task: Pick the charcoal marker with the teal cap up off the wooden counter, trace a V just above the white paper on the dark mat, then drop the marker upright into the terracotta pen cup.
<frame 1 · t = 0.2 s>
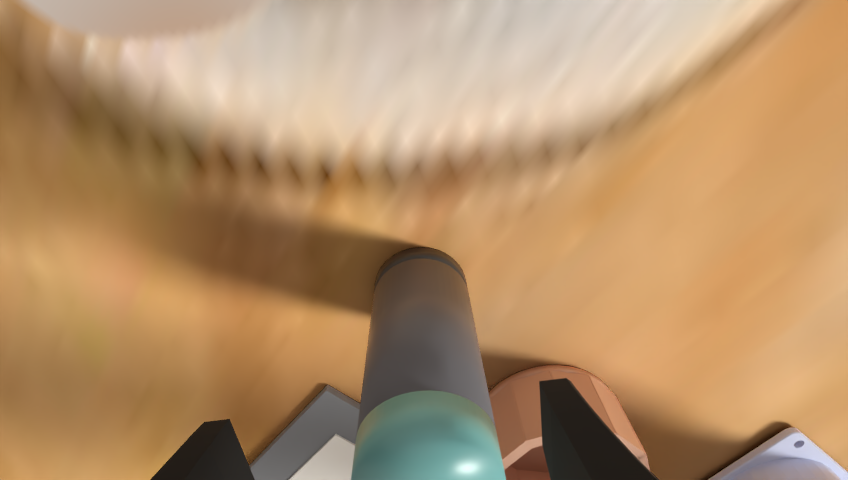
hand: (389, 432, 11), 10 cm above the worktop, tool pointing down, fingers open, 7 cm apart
pen cup: (545, 420, 25), on the worktop
marker: (420, 288, 22), on the worktop
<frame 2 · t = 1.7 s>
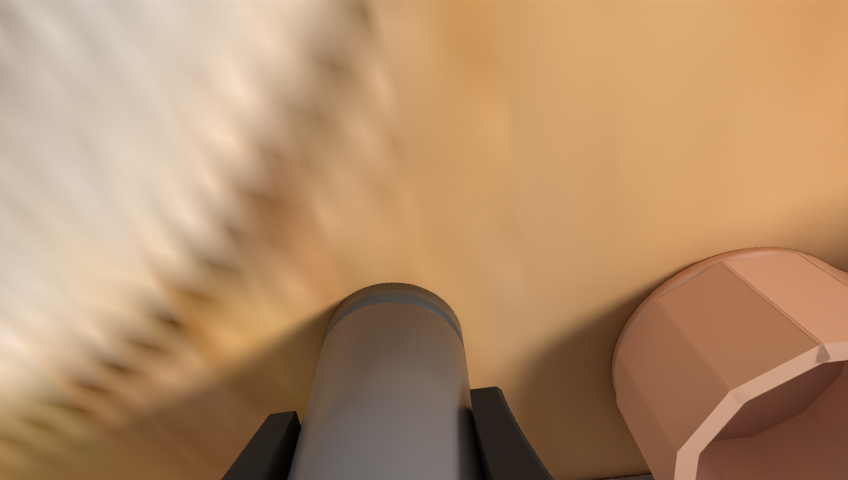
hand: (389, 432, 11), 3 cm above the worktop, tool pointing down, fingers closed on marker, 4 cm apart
pen cup: (730, 353, 15), on the worktop
marker: (394, 341, 15), on the worktop, touching gripper
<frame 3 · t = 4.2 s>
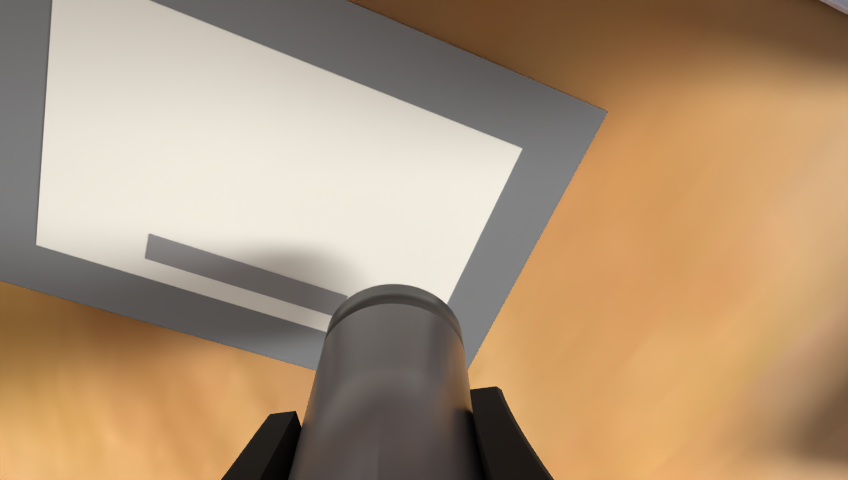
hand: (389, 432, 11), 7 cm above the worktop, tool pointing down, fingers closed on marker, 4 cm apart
writing mat: (274, 193, 17), on the worktop
marker: (394, 342, 15), point 4 cm above the worktop, touching gripper
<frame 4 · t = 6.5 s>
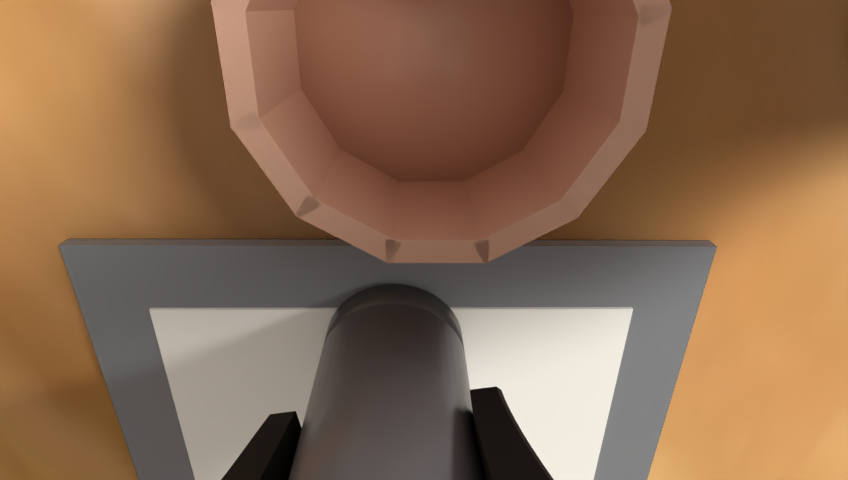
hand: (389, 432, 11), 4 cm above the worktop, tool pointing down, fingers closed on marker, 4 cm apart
writing mat: (396, 413, 17), on the worktop
pen cup: (433, 50, 12), on the worktop
marker: (394, 342, 15), point 1 cm above the worktop, touching gripper
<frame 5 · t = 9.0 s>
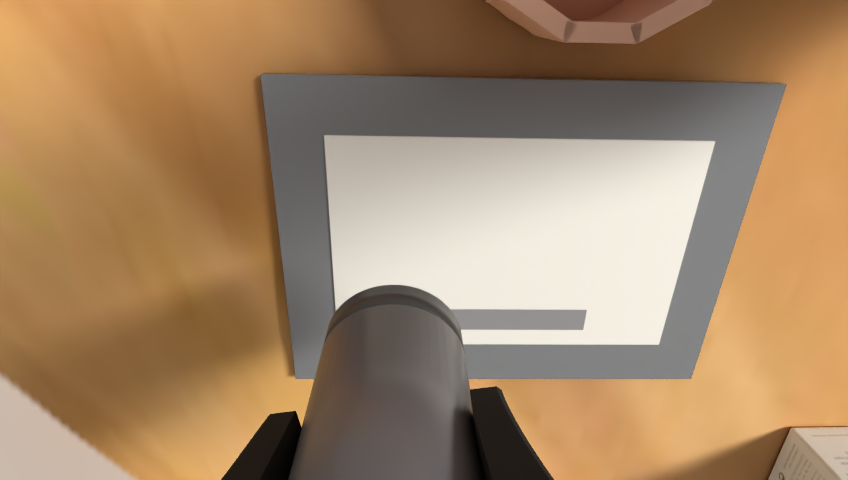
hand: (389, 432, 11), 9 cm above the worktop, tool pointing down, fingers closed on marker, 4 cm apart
small box: (841, 458, 26), on the worktop
writing mat: (507, 246, 20), on the worktop
marker: (394, 343, 15), point 6 cm above the worktop, touching gripper
when the fingers open (5 cm above the worktop, at t = 11.2 s): marker stays where it is, resting on pen cup.
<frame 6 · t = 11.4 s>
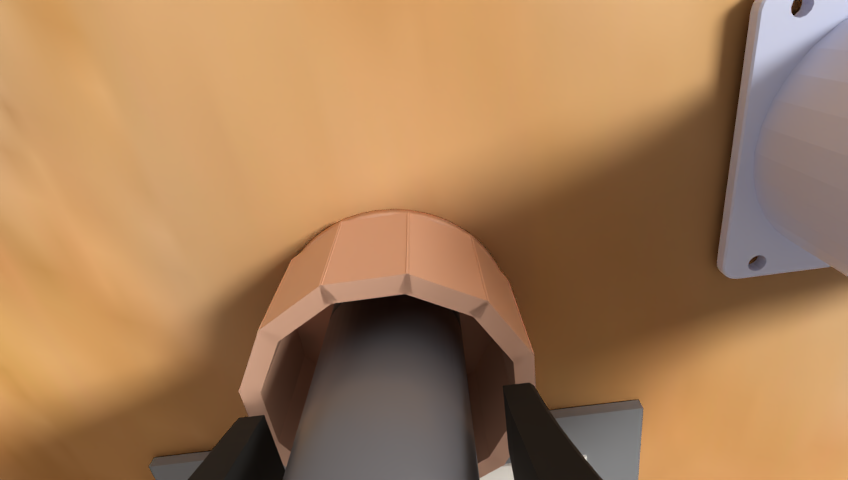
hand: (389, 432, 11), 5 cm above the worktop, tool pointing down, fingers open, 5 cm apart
pen cup: (396, 312, 16), on the worktop
marker: (395, 322, 15), point 1 cm above the worktop, touching pen cup
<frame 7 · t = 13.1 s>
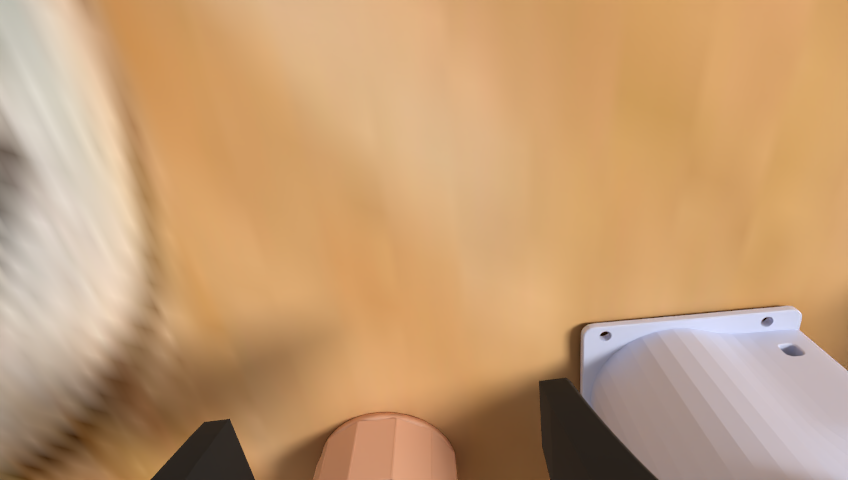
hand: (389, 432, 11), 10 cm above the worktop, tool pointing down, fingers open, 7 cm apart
pen cup: (388, 463, 26), on the worktop
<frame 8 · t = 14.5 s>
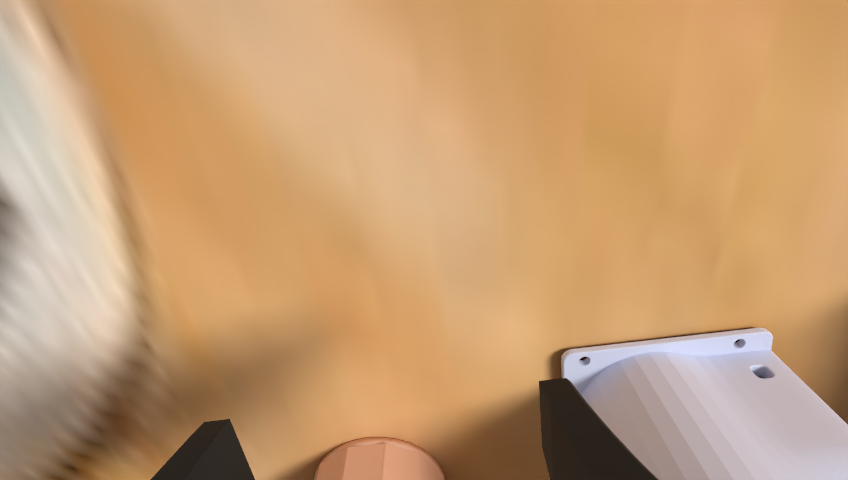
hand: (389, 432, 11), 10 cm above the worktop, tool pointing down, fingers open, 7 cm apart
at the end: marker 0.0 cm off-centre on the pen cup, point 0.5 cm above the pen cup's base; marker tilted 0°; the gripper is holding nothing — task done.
